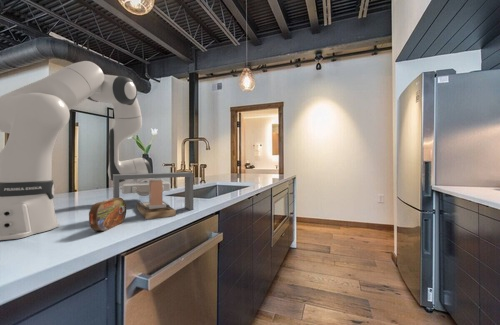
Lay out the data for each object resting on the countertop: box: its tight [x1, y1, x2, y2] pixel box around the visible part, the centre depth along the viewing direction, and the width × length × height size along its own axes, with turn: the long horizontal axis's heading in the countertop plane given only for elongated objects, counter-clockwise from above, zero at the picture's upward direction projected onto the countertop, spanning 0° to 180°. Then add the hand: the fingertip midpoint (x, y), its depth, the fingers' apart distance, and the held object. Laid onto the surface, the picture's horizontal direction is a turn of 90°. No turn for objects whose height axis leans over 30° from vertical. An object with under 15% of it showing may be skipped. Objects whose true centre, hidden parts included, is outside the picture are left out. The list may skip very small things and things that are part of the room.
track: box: [136, 201, 177, 220], centre depth 93 cm, size 10×22×3 cm, turn 33°
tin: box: [88, 197, 127, 232], centre depth 72 cm, size 15×3×8 cm, turn 179°
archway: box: [112, 171, 194, 211], centre depth 92 cm, size 28×6×15 cm, turn 123°
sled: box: [145, 180, 167, 209], centre depth 91 cm, size 6×7×10 cm
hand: (149, 189), depth 101 cm, fingers open, 8 cm apart
